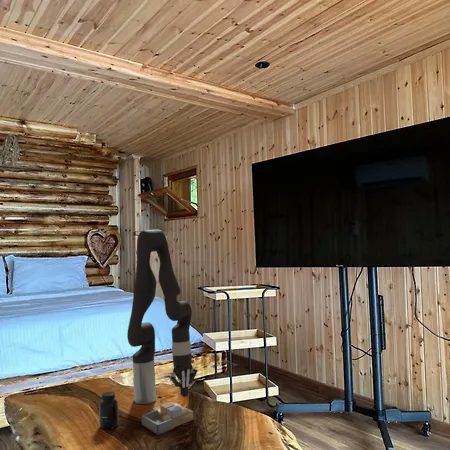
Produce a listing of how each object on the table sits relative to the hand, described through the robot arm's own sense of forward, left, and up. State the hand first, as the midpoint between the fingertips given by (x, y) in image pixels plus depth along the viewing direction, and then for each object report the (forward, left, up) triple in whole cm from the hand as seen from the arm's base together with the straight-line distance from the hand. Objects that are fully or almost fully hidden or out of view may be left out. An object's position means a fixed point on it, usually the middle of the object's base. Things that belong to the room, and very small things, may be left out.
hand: (184, 396), depth 165 cm
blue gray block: (+5, -8, -4) cm, 10 cm away
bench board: (0, -6, -7) cm, 9 cm away
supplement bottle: (-12, -26, -7) cm, 30 cm away
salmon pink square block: (0, -8, -4) cm, 9 cm away
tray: (+2, -14, -7) cm, 16 cm away
